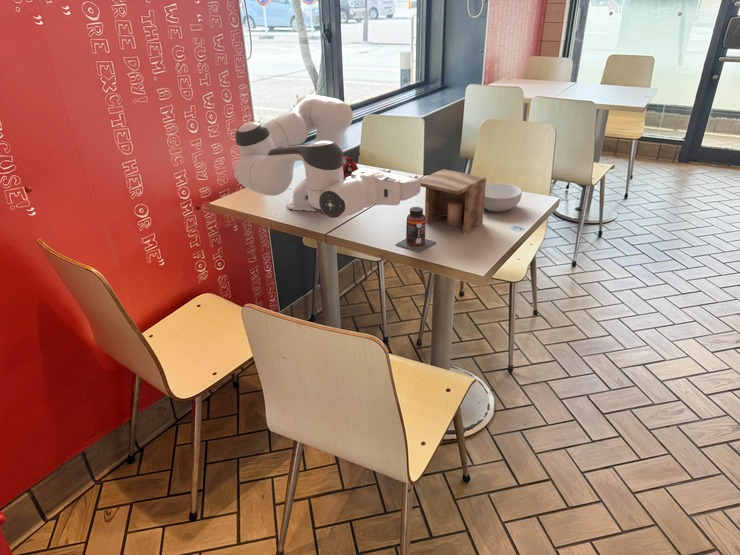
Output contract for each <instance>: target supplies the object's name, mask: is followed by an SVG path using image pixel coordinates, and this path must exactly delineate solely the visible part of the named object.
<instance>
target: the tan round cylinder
mask: <svg viewBox="0 0 740 555" xmlns="http://www.w3.org/2000/svg"><path fill="white" fill-rule="evenodd" d="M462 213H463V202H461V201H450V202H448V215H447V216H446V217H447V219H446V221H447V222H446V223H447V224H448V225H450V226H460V225H462V224H461V223H463V220H462Z"/></svg>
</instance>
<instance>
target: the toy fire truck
mask: <svg viewBox="0 0 740 555" xmlns="http://www.w3.org/2000/svg"><path fill="white" fill-rule="evenodd" d="M342 166H343V173H344V180H345V179H346V178H347V177H349V176H351V173H352V172H354V171H356V170H358V169H359V167H358V164H357V162H356V161H354V158H353V157H352V156H351V157H349V156H345V155H343V165H342Z"/></svg>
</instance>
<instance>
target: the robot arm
mask: <svg viewBox="0 0 740 555" xmlns="http://www.w3.org/2000/svg"><path fill="white" fill-rule="evenodd" d="M353 117H354V116H353V110H352V108H351V105H349V104H347V103H346V102H344V101H343V100H341V99H339V98H335V97H331V96H325V95H319V94H307V95H303V96H301V97H300V98H299V99H298V100H297V102H296V103H295V106H294V107H293V108H291V109H290V110H289V111H287V112H285V113H283V114H281V115H279V116H277V117H275V118H273V119H271V120H269V121H267V122H265V123H264V124H263V123H262V122H260V121H249V122H245V123H244V124H242V125H241V126H239V127H238V128H237V130H236V131H235V133H234V136H235V137H234V138H235V144H236V145H237V146H238V150H239V151H238V152H239V154H240V157H241V158H240V159H239V160H238V161H237V163H236V164H235V167H234V174H235V175H234V176H235V178H236V180H237V182H239V184H241V185H242V186H243V187H244V188H246V189H248V190H250V191H253V192H255V193H257V194H261V195H264V196H270V197H271V196H273V197H275V196H279V195H281V194H283V193H284V192H285V191H286V190H287V189H288V188H290V186H291V183H292V181H293V176H294V169H295V168H294V165H295V162H296V161H302V163H303V165H304V170H305V172H304V173H305V178H304V179H303V180H302V181H301V182H300V183H298V184H297V185H296V186H295V187H294V189H293V194H292V197H291V198H289V200H288V202H287V208H288V209H289V210H290V209H292V210H291V211H293V210H294V211H302V210H305V211H304V212H315V211H317V213H319V214H321V215H322V216H323V215H324V216H326V217H328V218H331V219H341V218H345V217H348V216H352V215H355V214H357V213H360V212H361V211H363V210H364V209H365V208H370V207H373V206H383V205H384V206H398V205H400V204H401V201H407V200H410V199H412V198H414V197H416V196H417V195H419V194H420V192H421V189H422V187H421V182H420V180H419V176H418V174H412V175H410V176H405V175H402V174H397V173H393V172H391V169H390V168H389V169H388V168H385V169H384V168H383V169H376V168H370V167H360V168H358V170H356V171H354V172H352V173H351V176H349V177H347V178H346V179H345V180H344V173H343V166H342V165H343V156H344V151H343V150H342V142H343V138H344V135H345V132H346V131H347V129H349V128H350V126H351V124H352V122H353ZM315 130H316V136H315V140H314V141H313V142H311V143H304V142H305V141H306V140H307V138H308V135H309V134H310V133H311V132H313V131H315Z"/></svg>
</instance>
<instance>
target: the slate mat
mask: <svg viewBox="0 0 740 555" xmlns="http://www.w3.org/2000/svg"><path fill="white" fill-rule="evenodd" d="M436 243H437V242H436V241H434V240H430V239H427V238H425V243H424V244H423V245H420V246H412V245H409V244H407V242H406V238H404V239H402V240H401V241H399V242H397V243H395V246H397V247H401V248H403V249H407V250H410V251H413V252H417V253H421V252H422V251H425V250H426V249H428V248H429V247H432V246H433V245H435V244H436Z"/></svg>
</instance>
